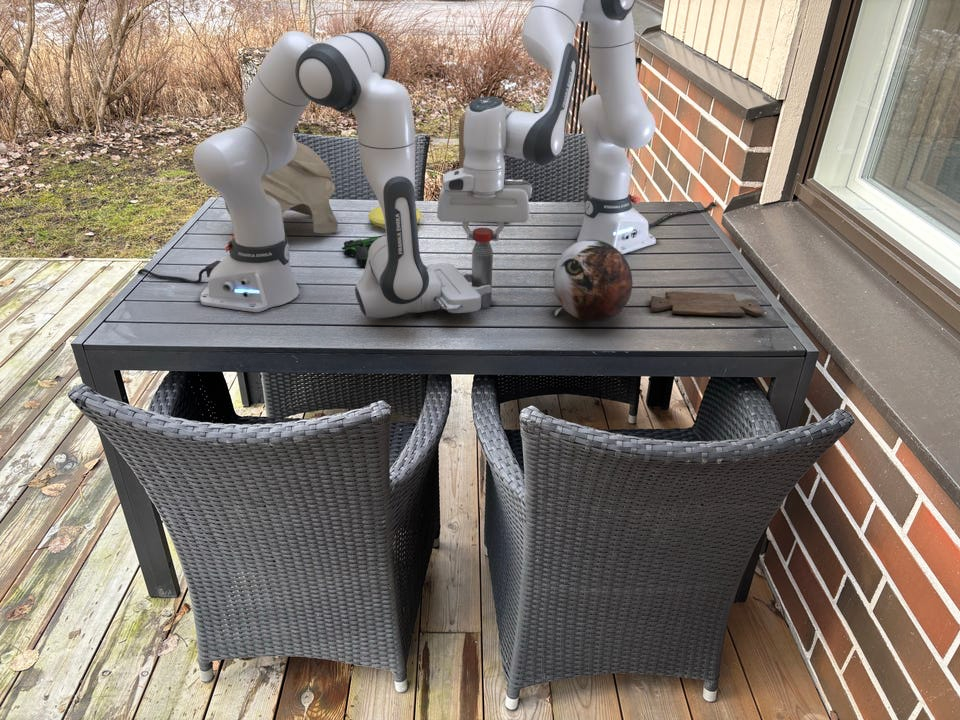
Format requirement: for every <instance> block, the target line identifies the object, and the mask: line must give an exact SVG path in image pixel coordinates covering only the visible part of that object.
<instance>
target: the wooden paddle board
mask: <svg viewBox="0 0 960 720" xmlns="http://www.w3.org/2000/svg"><path fill="white" fill-rule="evenodd" d="M664 296H665V298H664V297H661V296H655V295H651V297H650V311H651V312H652V313H656V312H657V313H658V312H663V311H667V310H671V309H672V311H671V313H672V314H676V315H697V316H699V315H700V316H721V317H744V316H746V314H748V315H751V316H755V317H759V316H760V317H762V316H764V315H765V311H763V308H762V307H761V305H760V303H759V301H758V300H757V299H753V298H745V299H742V300H737V298H736V296H735V294H734V293H715V292H714V293H712V292H691V291H665V292H664Z"/></svg>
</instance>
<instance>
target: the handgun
mask: <svg viewBox="0 0 960 720" xmlns="http://www.w3.org/2000/svg"><path fill="white" fill-rule="evenodd" d="M384 235H385V234H382V235H378V236H373V237H368V238H363V239H362V238H359V239H356V240H355V239H349V240H346V241H344V242H343V246H342V247H341V250H343V255H344V256H348V257H354V258H355V259H356V263H357V265H358V266H359V267H363V268H364V267H366V263H367V258H368V250H369V247H370V245H371V244H372V243H373V242H374V241H375V240H376V239H377V238H379V237H381V236H384Z"/></svg>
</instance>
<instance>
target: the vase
mask: <svg viewBox="0 0 960 720" xmlns="http://www.w3.org/2000/svg"><path fill="white" fill-rule="evenodd" d="M416 214H417V224H418V223H419V222H420V221H421V219H422V217H423V215H422V212H421V211H420V210H419V209H418V208H417V207H416ZM367 217H368V220H369V222H370V223H371V224H373V225H374V226H377V227H379V228H382V229H385V221H384V216H383V212H382V209H381V206H380V205H379V206H377V207H375V208H373V209H371V210H370V211H369V213H368V214H367Z"/></svg>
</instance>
